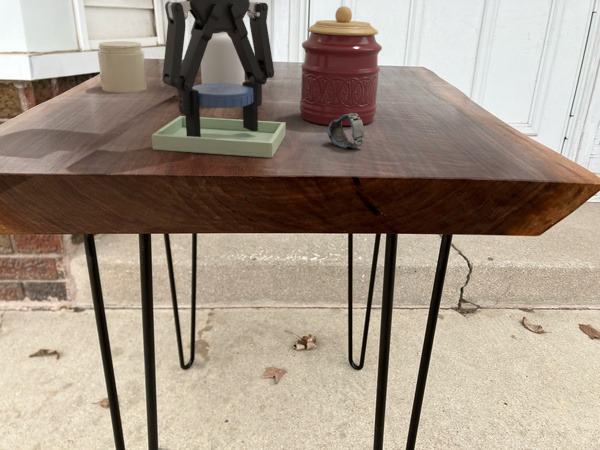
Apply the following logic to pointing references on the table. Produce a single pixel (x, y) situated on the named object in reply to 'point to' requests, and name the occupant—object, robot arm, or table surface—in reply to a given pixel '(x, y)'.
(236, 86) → the jar lid
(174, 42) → the robot arm
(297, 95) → the table surface
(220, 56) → the pill bottle
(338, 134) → the wristwatch
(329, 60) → the kitchen canister
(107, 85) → the jar
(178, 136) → the tray
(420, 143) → the table surface
